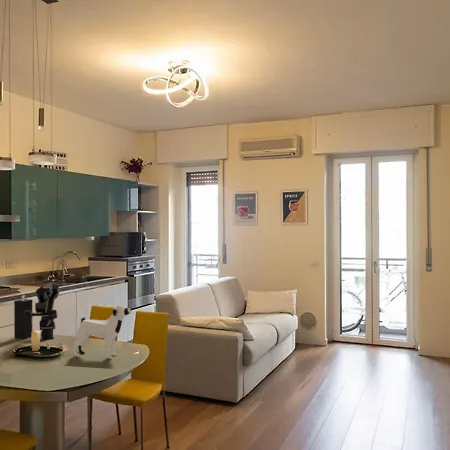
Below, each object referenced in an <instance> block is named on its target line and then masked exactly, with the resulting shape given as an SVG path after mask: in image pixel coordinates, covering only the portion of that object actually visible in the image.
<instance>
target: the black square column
mask: <svg viewBox="0 0 450 450" xmlns="http://www.w3.org/2000/svg"><path fill="white" fill-rule="evenodd" d="M25 297H26V295H25V294H23V295H21V299H17V300H14V301H13V304H14V305H13V306H14V307H13V310H14V313H13V314H14V315H13V316H14V319H13V320H14V323H13V324H14V329H13V330H14V331H13V332H14V335H13V337H14V339H15V340H26V339H29V338H32V331H33V325H32V326H31V327H30V323H29V320H27V319H25V317H24V312H25V311H32V312H33V299H29V298H28V299H27V298H25Z"/></svg>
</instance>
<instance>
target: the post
mask: <svg viewBox="0 0 450 450" xmlns="http://www.w3.org/2000/svg"><path fill="white" fill-rule="evenodd" d="M40 340H41V330H32V337H31V348H32V351H38V350H39V349H40V347H41V346H40V345H41V341H40Z"/></svg>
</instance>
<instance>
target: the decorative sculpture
mask: <svg viewBox="0 0 450 450" xmlns="http://www.w3.org/2000/svg"><path fill="white" fill-rule="evenodd" d="M131 312H132V308H131V307H125V306H123V305H122V306H121V305H118V306H114V307H112V314H111V315H110V316H109V317H108V318H107V319H105V320H104V319H101V320H100V319H87V318H85V317H82V318H81V319H80V325H79V327H78V330H77V333H76V340H75V341H74V342H73V354H74V357H77V358H79V357H80V354H81V355H84V354H85V351H83V350H82V345H83V344H84V343H85V342H86V341H87V340H88V338H89V337H90V336H91V337H95V338H99V339H104V349H105V354H106V358H107V359H110V360H111V359H113V356H114V357H117V356H118V355H117V353H115V352H114V347H115V343H116V337H118V335H119V334H120V331H121V327H122V324H123V321H124V318H125V317H127V316H128V315H130V314H131ZM77 349H78V352H77Z"/></svg>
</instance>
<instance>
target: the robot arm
mask: <svg viewBox="0 0 450 450" xmlns="http://www.w3.org/2000/svg"><path fill="white" fill-rule="evenodd" d="M35 294H36V295H35V296H36V299H37V300H38V301H37V302H35V304H34V310H35V312H33V310H32V311H25V312H24V317H25V319H27V320H29V323H30V327H31V326H32V327H33V317H41V319H40V320H39V323H38V324H39V331H40V340H43V341H48V340H53V339H55V337H54V330H56V323H55V320H56V319H58V315H59V314H58V311H57V309H54V306H55V300H56V299H58V297H59V294H60V287H59V286H58V285H57V284H56V283H55V281H47V282H46V283H45V286H42V285H41V286H39V288H37V289H35Z"/></svg>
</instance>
